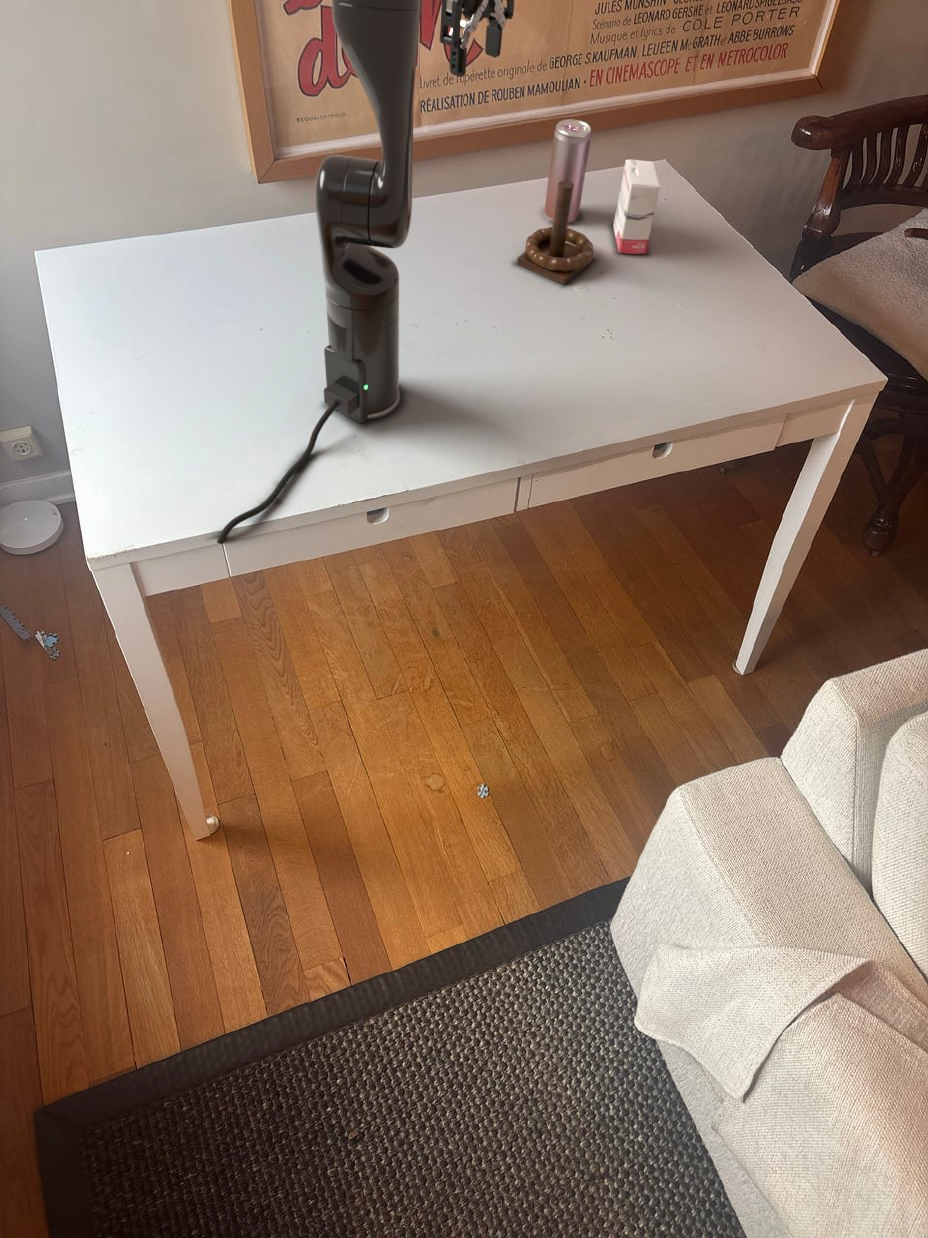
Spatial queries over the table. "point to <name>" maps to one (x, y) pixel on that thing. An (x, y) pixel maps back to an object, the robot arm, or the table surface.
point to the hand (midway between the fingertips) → (475, 64)
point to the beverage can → (568, 163)
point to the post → (557, 238)
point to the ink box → (636, 206)
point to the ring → (556, 262)
